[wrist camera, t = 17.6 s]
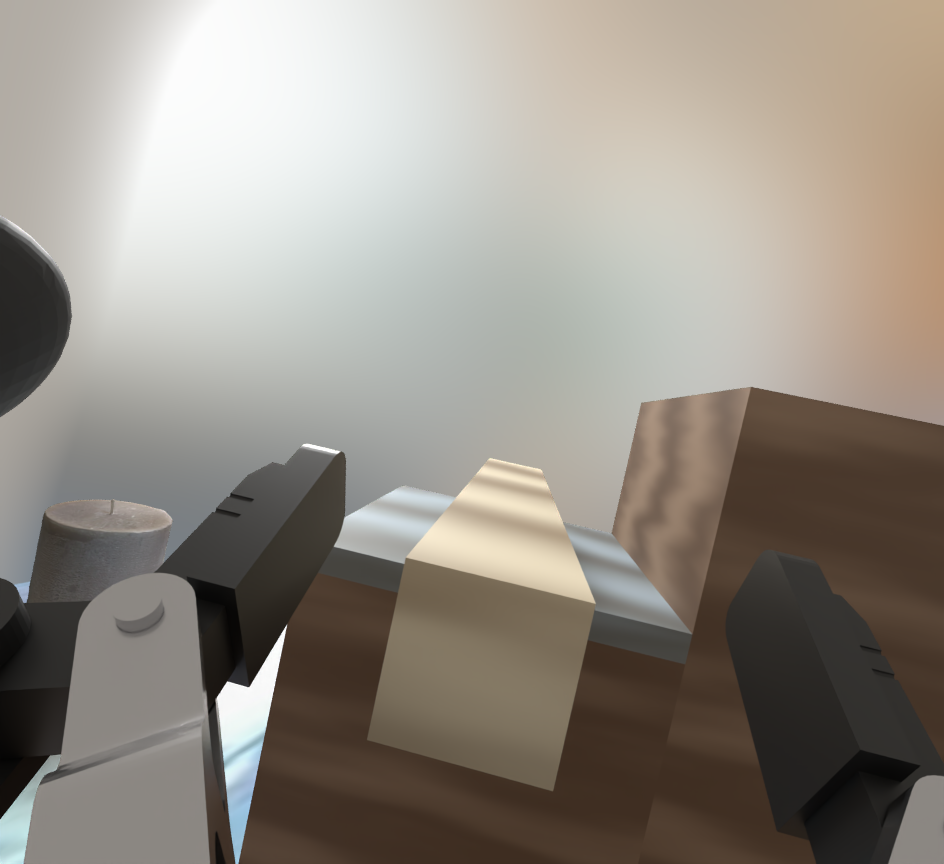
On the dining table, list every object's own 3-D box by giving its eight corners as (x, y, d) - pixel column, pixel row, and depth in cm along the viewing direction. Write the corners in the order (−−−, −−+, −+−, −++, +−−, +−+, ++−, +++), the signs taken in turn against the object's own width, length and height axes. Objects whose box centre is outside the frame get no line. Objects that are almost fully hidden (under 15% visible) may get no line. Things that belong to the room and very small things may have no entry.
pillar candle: (-15, 663, 45) (16, 490, 44) (97, 624, 54) (125, 482, 53) (65, 707, 42) (101, 523, 41) (170, 658, 51) (200, 508, 50)
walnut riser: (837, 1433, 17) (1097, 456, 16) (171, 1190, 19) (352, 306, 18) (688, 957, 32) (814, 438, 30) (326, 850, 34) (430, 358, 32)
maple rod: (553, 791, 8) (595, 603, 8) (367, 739, 8) (405, 557, 8) (530, 520, 30) (541, 469, 30) (478, 508, 30) (489, 458, 30)
